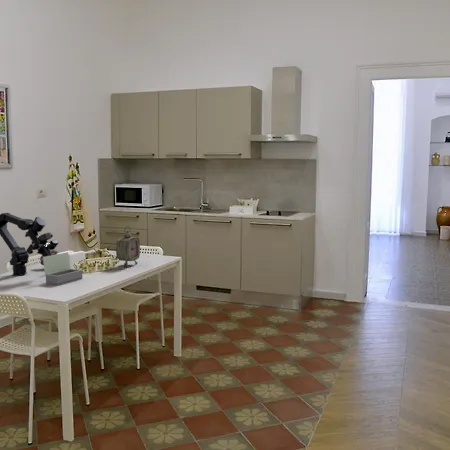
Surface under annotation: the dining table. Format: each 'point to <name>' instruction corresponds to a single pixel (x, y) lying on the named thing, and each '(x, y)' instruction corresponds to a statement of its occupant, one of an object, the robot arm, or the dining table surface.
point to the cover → (56, 262)
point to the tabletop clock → (128, 248)
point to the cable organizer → (74, 257)
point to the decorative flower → (51, 254)
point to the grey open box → (63, 277)
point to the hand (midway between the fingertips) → (50, 258)
